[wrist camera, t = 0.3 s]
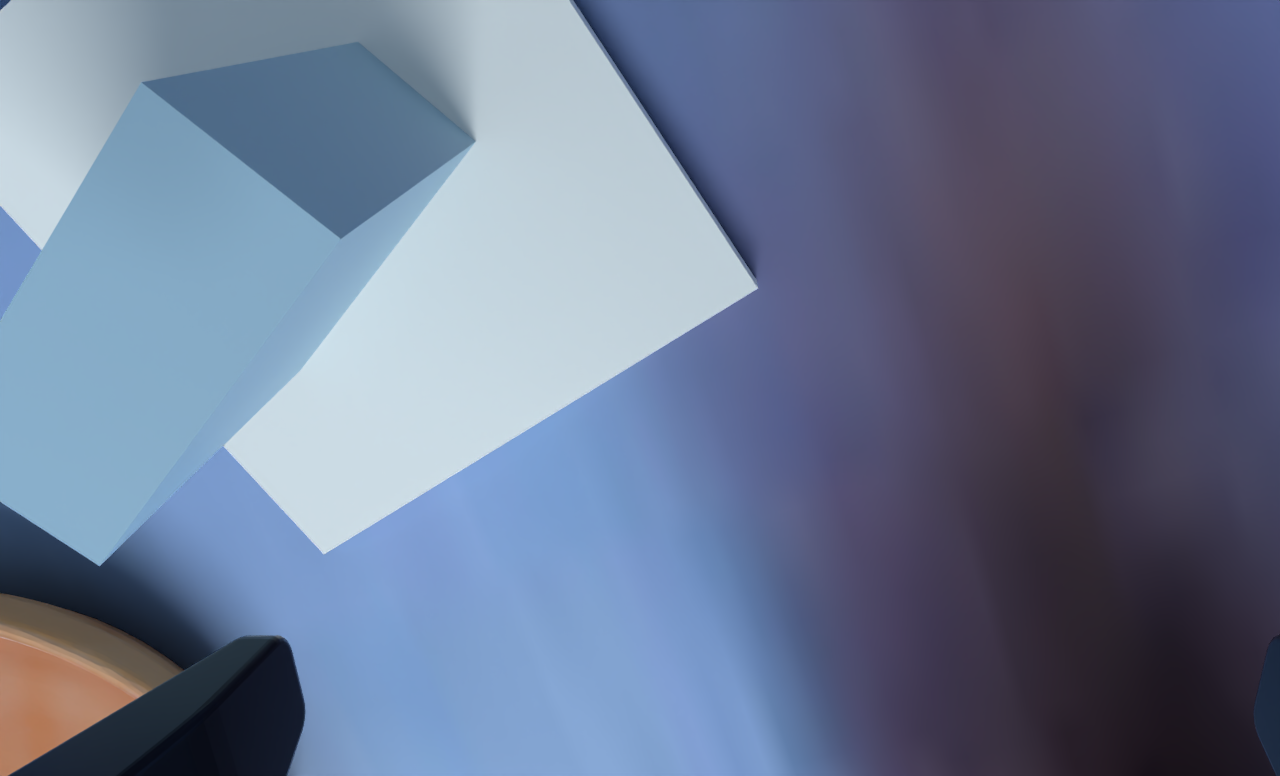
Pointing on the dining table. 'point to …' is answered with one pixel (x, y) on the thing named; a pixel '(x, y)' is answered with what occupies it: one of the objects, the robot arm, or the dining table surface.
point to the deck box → (202, 276)
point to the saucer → (64, 676)
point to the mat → (413, 226)
